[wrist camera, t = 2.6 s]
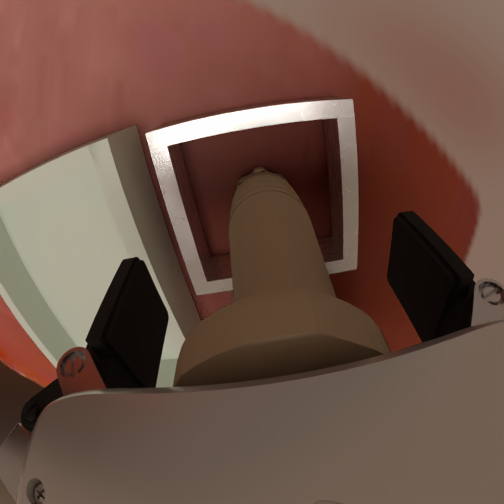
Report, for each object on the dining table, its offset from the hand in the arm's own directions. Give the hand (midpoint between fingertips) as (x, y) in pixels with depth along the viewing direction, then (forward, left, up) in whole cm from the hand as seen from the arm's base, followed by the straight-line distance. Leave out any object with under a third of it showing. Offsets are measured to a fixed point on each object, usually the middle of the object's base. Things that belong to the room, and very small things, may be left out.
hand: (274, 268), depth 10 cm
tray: (-6, +15, -10) cm, 18 cm away
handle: (-1, 0, -10) cm, 10 cm away
